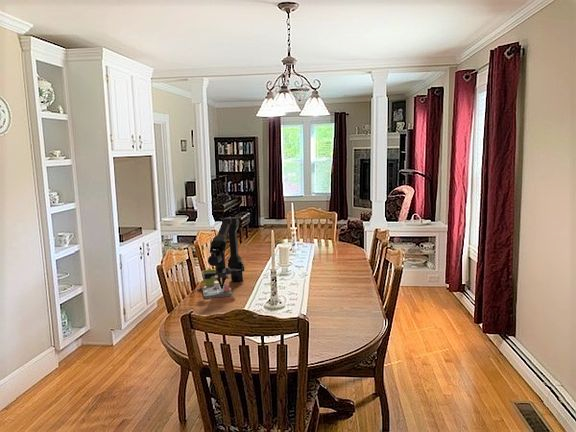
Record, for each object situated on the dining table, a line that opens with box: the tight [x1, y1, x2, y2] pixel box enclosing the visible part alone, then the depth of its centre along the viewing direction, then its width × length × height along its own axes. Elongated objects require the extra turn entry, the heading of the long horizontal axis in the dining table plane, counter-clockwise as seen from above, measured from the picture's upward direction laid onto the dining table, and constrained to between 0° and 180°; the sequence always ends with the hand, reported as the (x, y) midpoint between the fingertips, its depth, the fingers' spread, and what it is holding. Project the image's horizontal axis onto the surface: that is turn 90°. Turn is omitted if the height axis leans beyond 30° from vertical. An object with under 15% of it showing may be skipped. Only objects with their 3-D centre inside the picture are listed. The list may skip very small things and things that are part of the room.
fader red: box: [224, 283, 230, 292], centre depth 254 cm, size 2×4×3 cm, turn 14°
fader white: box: [214, 280, 220, 288], centre depth 261 cm, size 2×4×3 cm, turn 14°
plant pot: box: [200, 269, 217, 286], centre depth 271 cm, size 9×9×9 cm
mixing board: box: [201, 283, 233, 300], centre depth 257 cm, size 15×18×3 cm
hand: (222, 288), depth 253 cm, fingers closed
